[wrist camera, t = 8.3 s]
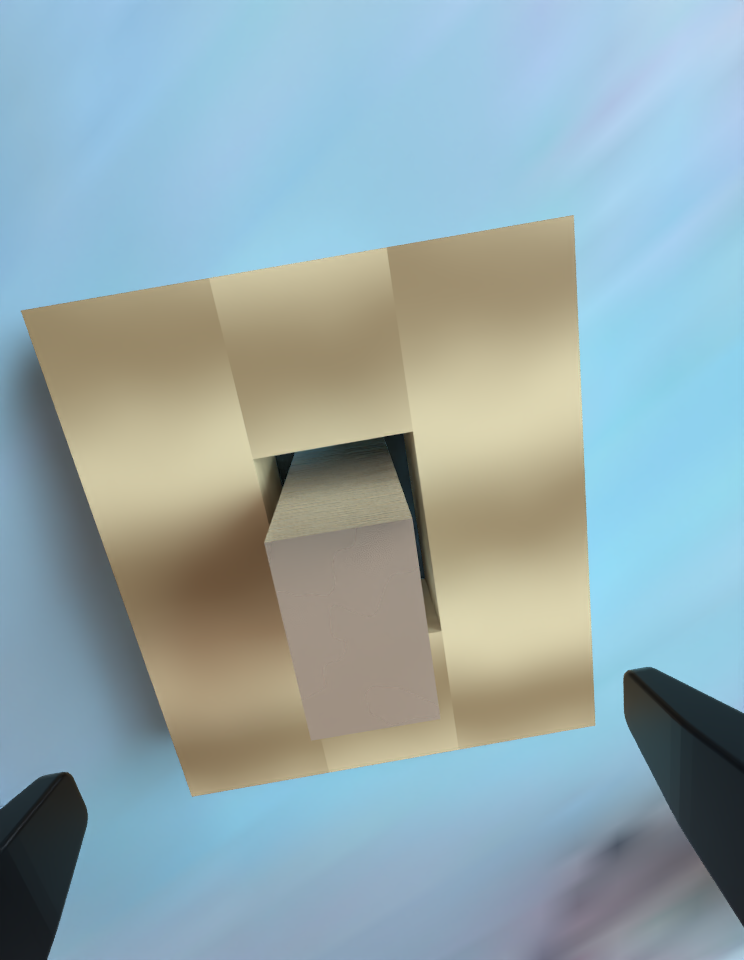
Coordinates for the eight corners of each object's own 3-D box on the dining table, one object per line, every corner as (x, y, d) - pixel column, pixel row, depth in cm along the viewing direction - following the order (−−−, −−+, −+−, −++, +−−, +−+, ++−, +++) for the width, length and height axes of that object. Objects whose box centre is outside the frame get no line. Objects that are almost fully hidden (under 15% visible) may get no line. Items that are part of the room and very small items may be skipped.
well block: (555, 661, 21) (595, 725, 18) (215, 721, 21) (191, 796, 18) (526, 236, 16) (573, 215, 13) (86, 312, 16) (20, 310, 13)
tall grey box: (402, 562, 20) (440, 719, 12) (323, 575, 20) (311, 740, 12) (382, 433, 18) (412, 517, 10) (297, 447, 18) (263, 542, 10)
